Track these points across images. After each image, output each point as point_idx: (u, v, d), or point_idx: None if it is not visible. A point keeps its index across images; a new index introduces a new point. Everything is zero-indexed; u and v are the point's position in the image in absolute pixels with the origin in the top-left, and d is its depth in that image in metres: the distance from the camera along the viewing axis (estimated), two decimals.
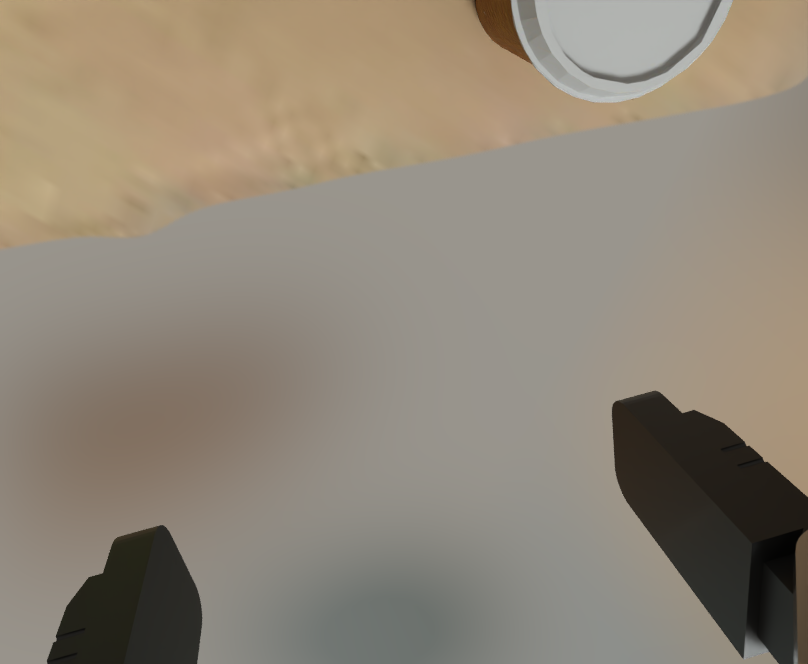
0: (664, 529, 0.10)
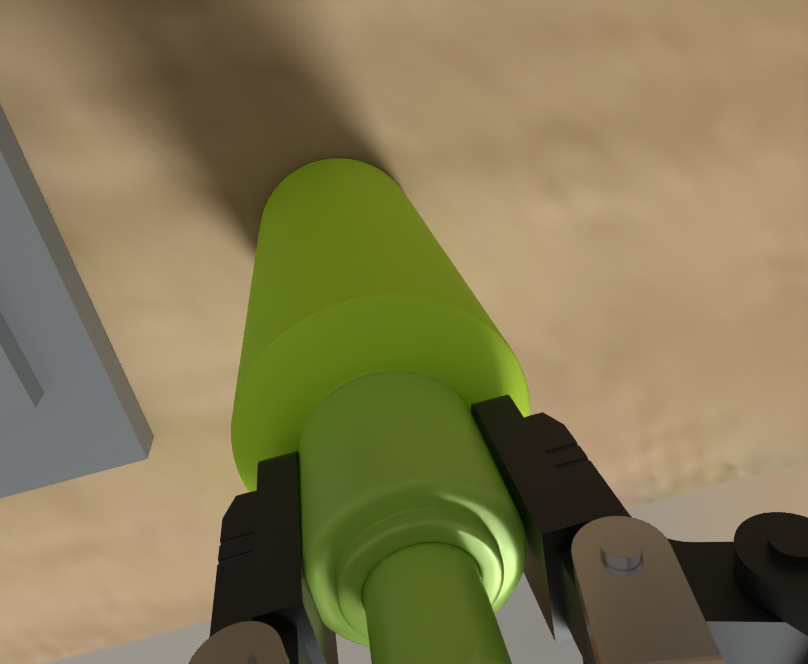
0: None
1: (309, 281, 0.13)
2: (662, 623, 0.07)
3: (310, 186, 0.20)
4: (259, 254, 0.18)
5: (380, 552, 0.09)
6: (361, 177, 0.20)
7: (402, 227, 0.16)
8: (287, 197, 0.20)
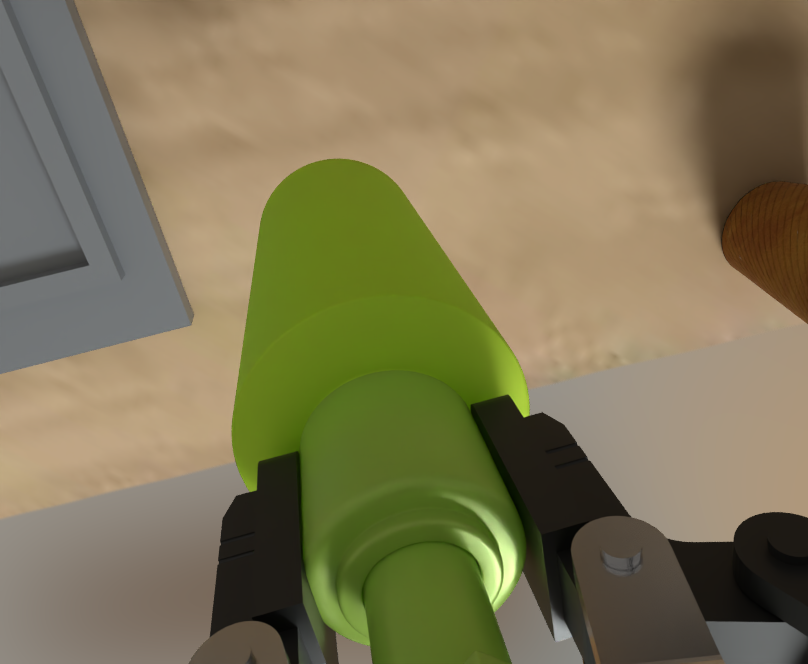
0: None
1: (309, 282, 0.13)
2: (662, 622, 0.07)
3: (310, 187, 0.20)
4: (259, 255, 0.18)
5: (381, 552, 0.09)
6: (361, 178, 0.20)
7: (402, 228, 0.16)
8: (287, 198, 0.20)
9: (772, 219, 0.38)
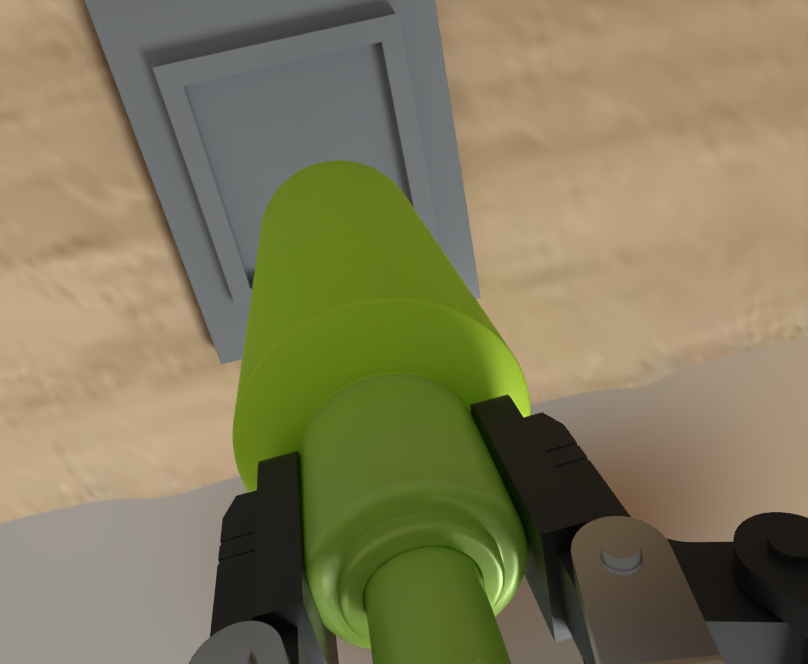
0: None
1: (310, 285, 0.13)
2: (661, 622, 0.07)
3: (311, 188, 0.20)
4: (260, 257, 0.18)
5: (381, 555, 0.09)
6: (362, 179, 0.20)
7: (403, 230, 0.16)
8: (288, 199, 0.20)
9: None
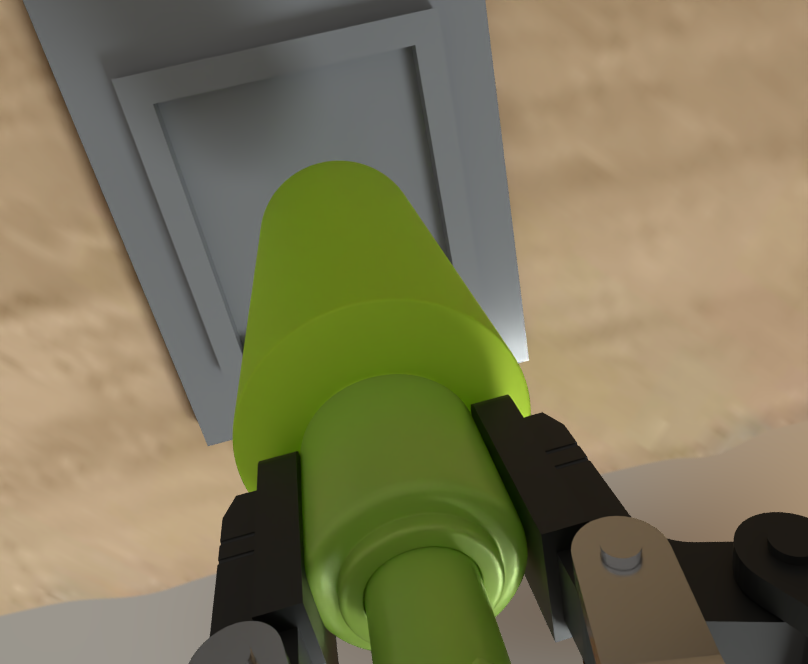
0: None
1: (310, 285, 0.13)
2: (662, 622, 0.07)
3: (311, 189, 0.20)
4: (260, 257, 0.18)
5: (381, 556, 0.09)
6: (362, 180, 0.20)
7: (403, 230, 0.16)
8: (288, 200, 0.20)
9: None
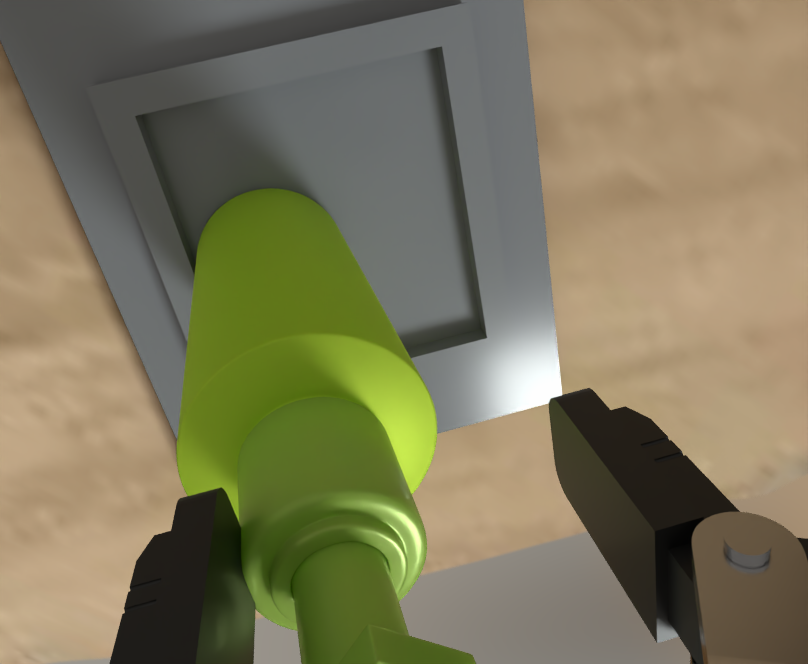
0: (593, 520, 0.11)
1: (239, 321, 0.14)
2: (781, 625, 0.07)
3: (241, 220, 0.21)
4: (196, 288, 0.20)
5: (303, 553, 0.11)
6: (288, 209, 0.22)
7: (323, 262, 0.18)
8: (220, 231, 0.22)
9: None
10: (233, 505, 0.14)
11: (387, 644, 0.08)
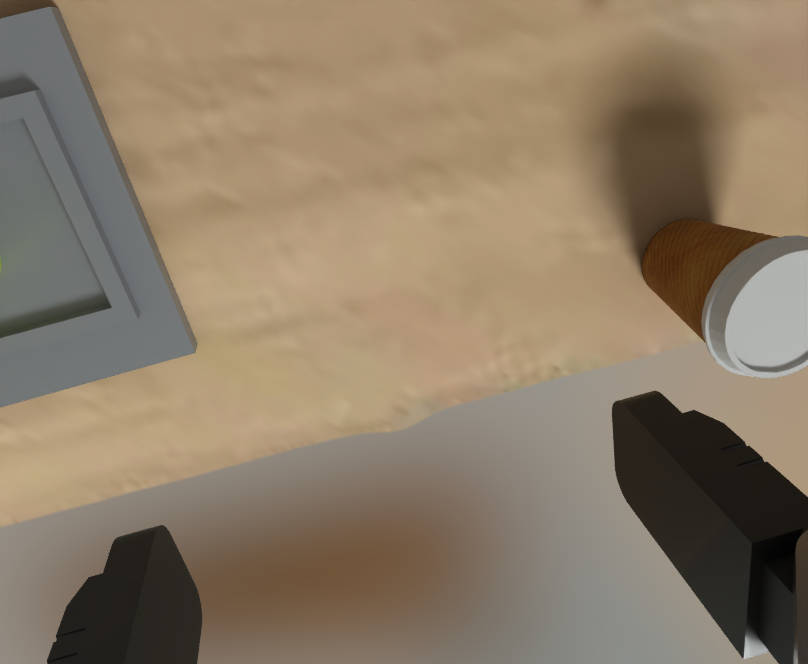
0: (664, 529, 0.10)
1: None
2: None
3: None
4: None
5: None
6: None
7: None
8: None
9: (675, 253, 0.45)
10: None
11: None
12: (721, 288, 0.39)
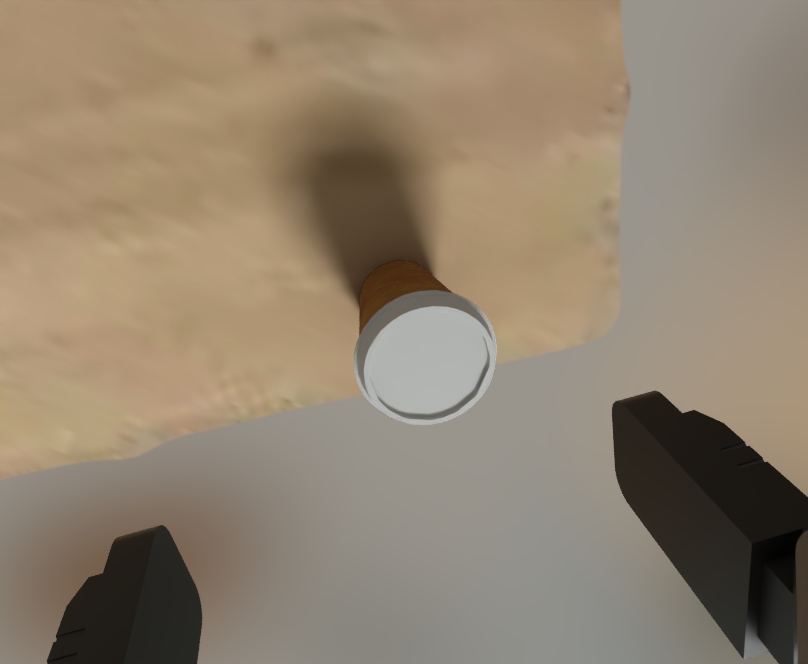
0: (664, 529, 0.10)
1: None
2: None
3: None
4: None
5: None
6: None
7: None
8: None
9: (366, 297, 0.47)
10: None
11: None
12: (363, 339, 0.40)
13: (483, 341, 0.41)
